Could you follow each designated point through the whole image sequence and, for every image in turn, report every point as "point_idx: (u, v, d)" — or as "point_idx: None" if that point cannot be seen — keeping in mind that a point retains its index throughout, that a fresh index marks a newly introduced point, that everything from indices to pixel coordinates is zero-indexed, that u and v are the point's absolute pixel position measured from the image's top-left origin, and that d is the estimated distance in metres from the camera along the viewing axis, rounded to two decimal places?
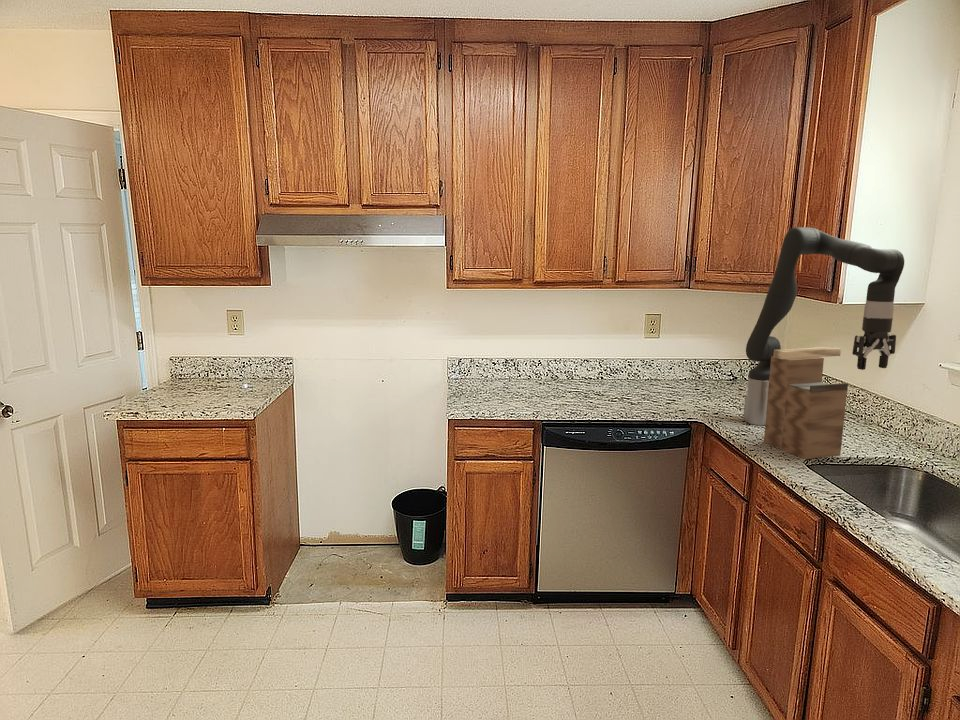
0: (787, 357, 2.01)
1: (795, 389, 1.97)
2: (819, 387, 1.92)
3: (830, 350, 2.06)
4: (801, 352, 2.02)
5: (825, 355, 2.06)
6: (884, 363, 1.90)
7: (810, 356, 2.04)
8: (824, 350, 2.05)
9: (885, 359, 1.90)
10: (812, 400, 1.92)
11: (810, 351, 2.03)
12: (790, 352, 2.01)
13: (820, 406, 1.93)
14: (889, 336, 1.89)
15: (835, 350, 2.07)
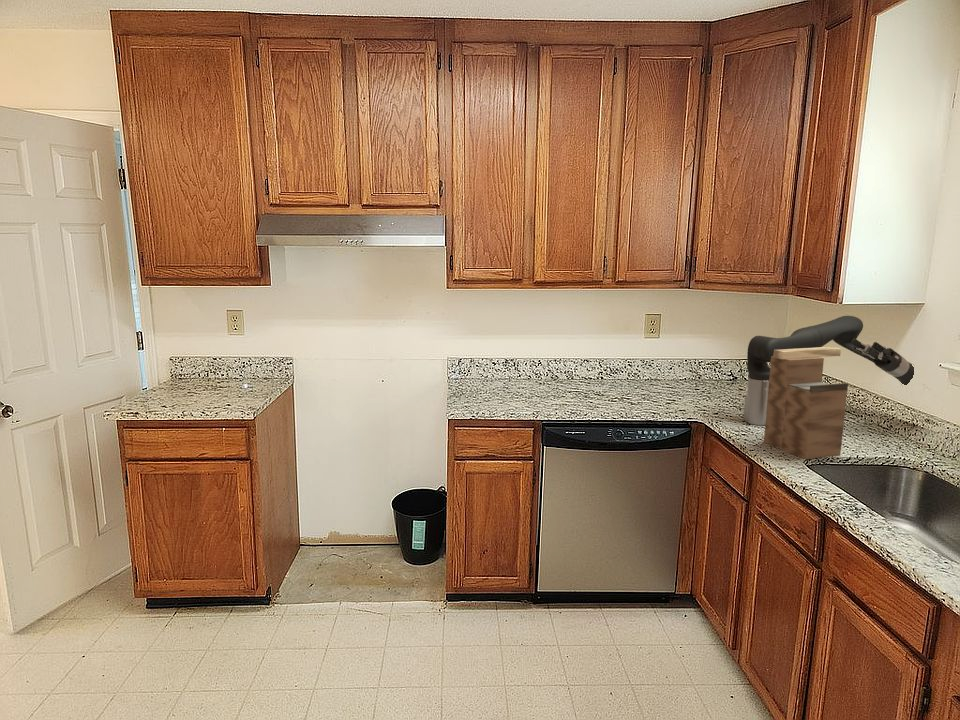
0: (787, 357, 2.01)
1: (795, 389, 1.97)
2: (819, 387, 1.92)
3: (830, 350, 2.06)
4: (801, 352, 2.02)
5: (825, 355, 2.06)
6: (855, 344, 2.21)
7: (810, 356, 2.04)
8: (824, 350, 2.05)
9: (857, 346, 2.22)
10: (812, 400, 1.92)
11: (810, 351, 2.03)
12: (790, 352, 2.01)
13: (820, 406, 1.93)
14: None
15: (835, 350, 2.07)
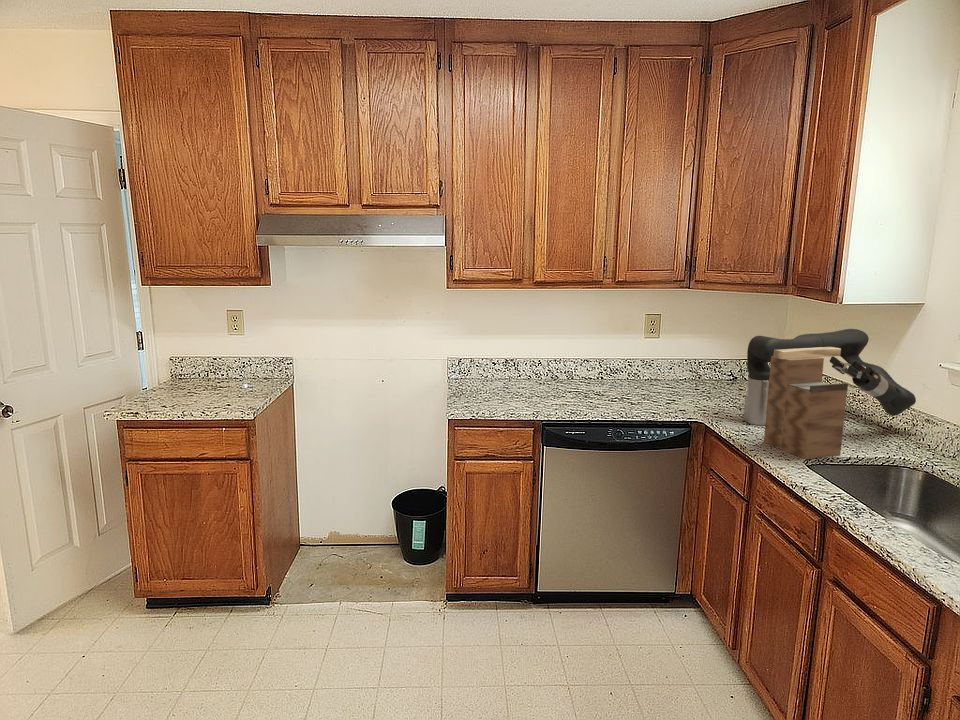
0: (787, 357, 2.01)
1: (795, 389, 1.97)
2: (819, 387, 1.92)
3: (830, 350, 2.06)
4: (801, 352, 2.02)
5: (825, 355, 2.06)
6: (833, 362, 2.15)
7: (810, 356, 2.04)
8: (824, 350, 2.05)
9: (835, 364, 2.16)
10: (812, 400, 1.92)
11: (810, 351, 2.03)
12: (790, 352, 2.01)
13: (820, 406, 1.93)
14: (846, 372, 2.19)
15: (835, 350, 2.07)
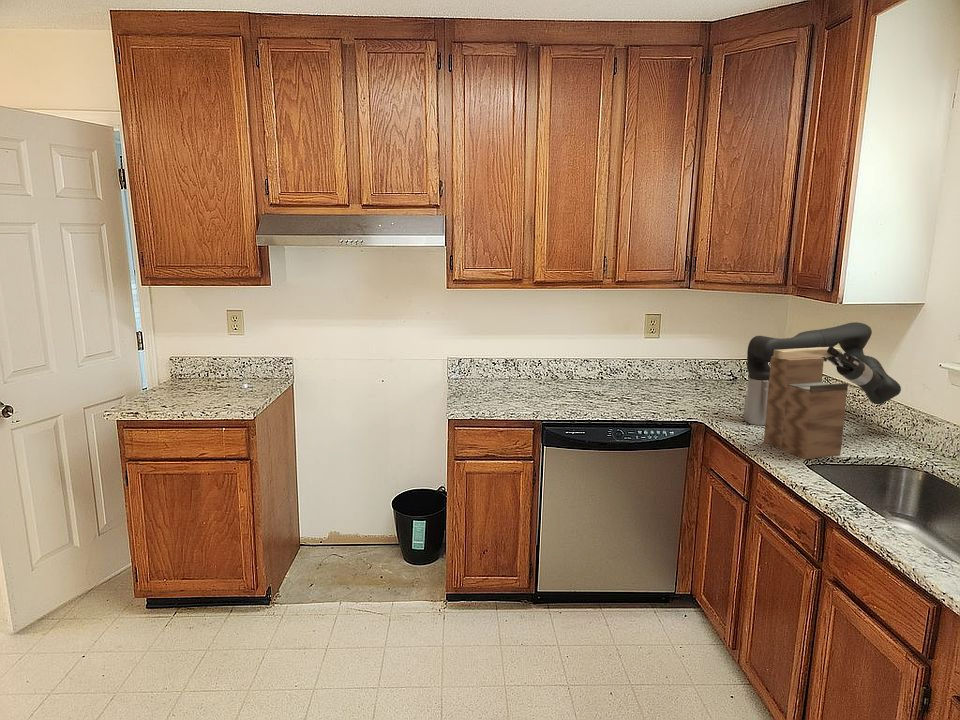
0: (787, 357, 2.01)
1: (795, 389, 1.97)
2: (819, 387, 1.92)
3: None
4: (801, 352, 2.02)
5: (825, 355, 2.06)
6: None
7: (810, 356, 2.04)
8: (824, 350, 2.05)
9: None
10: (812, 400, 1.92)
11: (810, 351, 2.03)
12: (790, 352, 2.01)
13: (820, 406, 1.93)
14: None
15: None
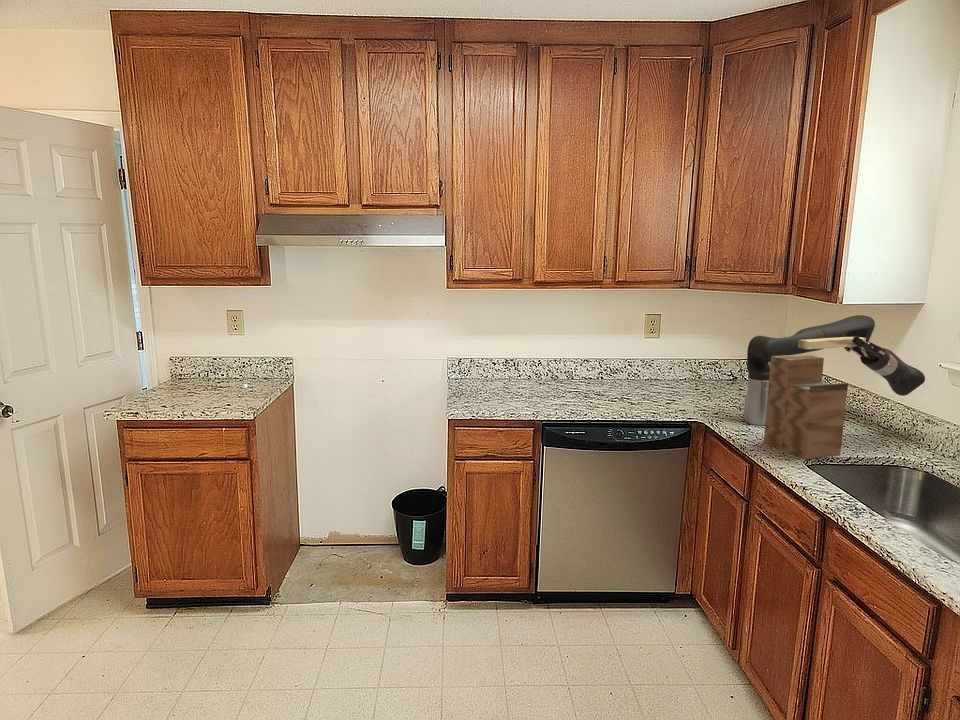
0: (812, 347, 1.97)
1: (795, 389, 1.97)
2: (819, 387, 1.92)
3: None
4: (826, 342, 1.99)
5: (850, 345, 2.02)
6: None
7: (835, 346, 2.00)
8: (849, 340, 2.02)
9: None
10: (812, 400, 1.92)
11: (835, 341, 2.00)
12: (815, 342, 1.97)
13: (820, 406, 1.93)
14: None
15: None
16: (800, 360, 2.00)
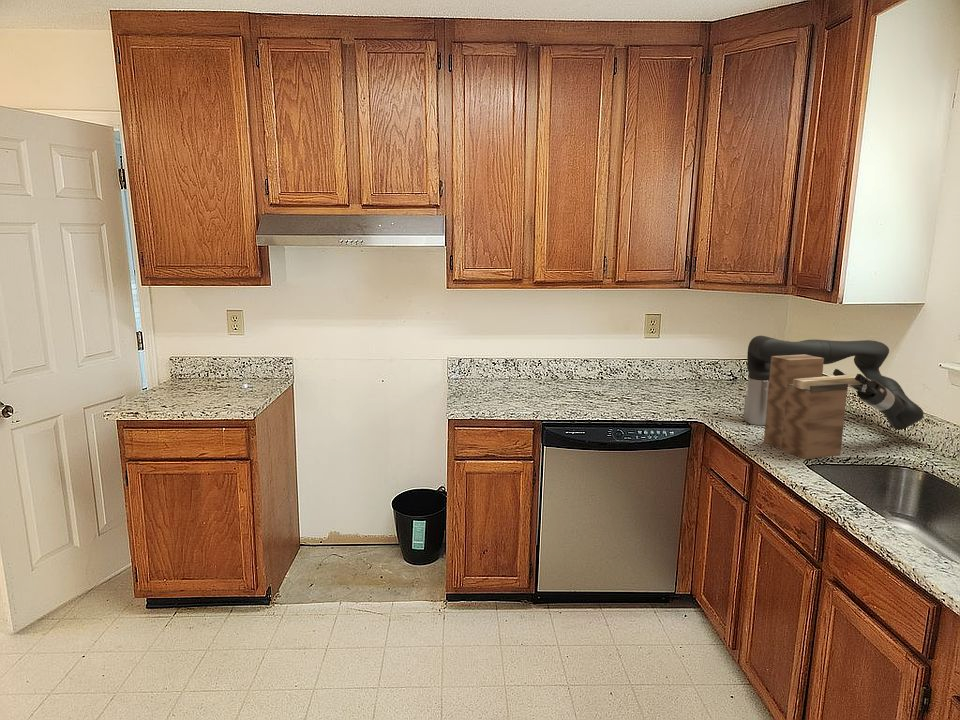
0: (807, 387, 1.94)
1: (795, 389, 1.97)
2: (819, 387, 1.92)
3: (851, 379, 1.99)
4: (821, 381, 1.95)
5: None
6: (837, 375, 2.05)
7: None
8: (845, 379, 1.98)
9: None
10: (812, 400, 1.92)
11: (831, 380, 1.96)
12: (810, 382, 1.94)
13: (820, 406, 1.93)
14: None
15: None
16: (800, 360, 2.00)
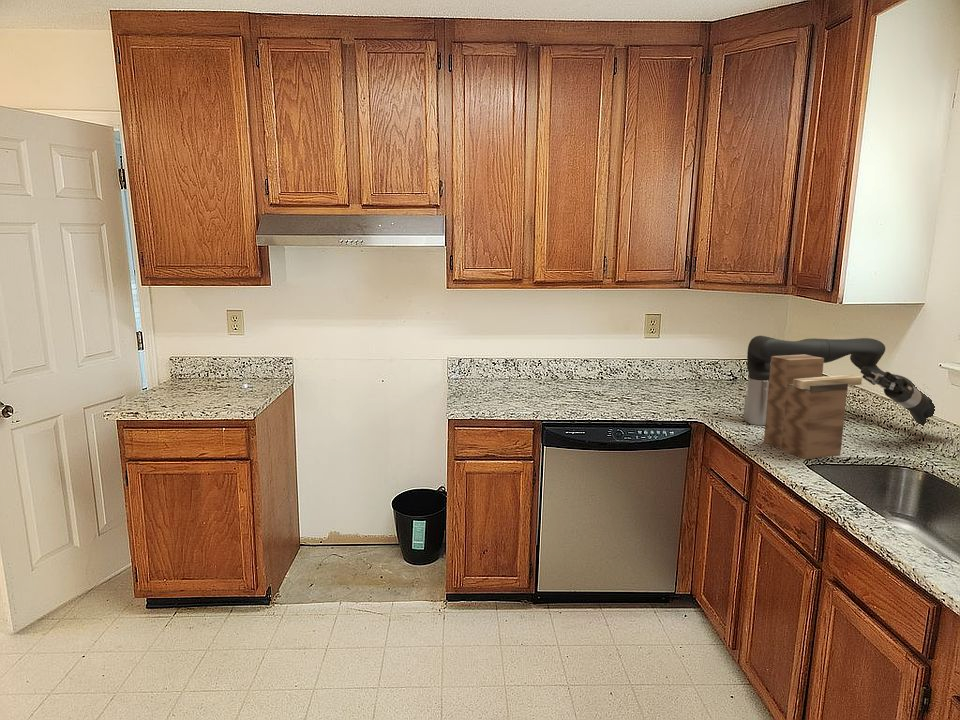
0: (807, 387, 1.94)
1: (795, 389, 1.97)
2: (819, 387, 1.92)
3: (851, 379, 1.99)
4: (821, 381, 1.95)
5: None
6: (865, 373, 2.08)
7: None
8: (845, 379, 1.98)
9: (867, 375, 2.09)
10: (812, 400, 1.92)
11: (831, 380, 1.96)
12: (810, 382, 1.94)
13: (820, 406, 1.93)
14: None
15: (856, 379, 2.00)
16: (800, 360, 2.00)
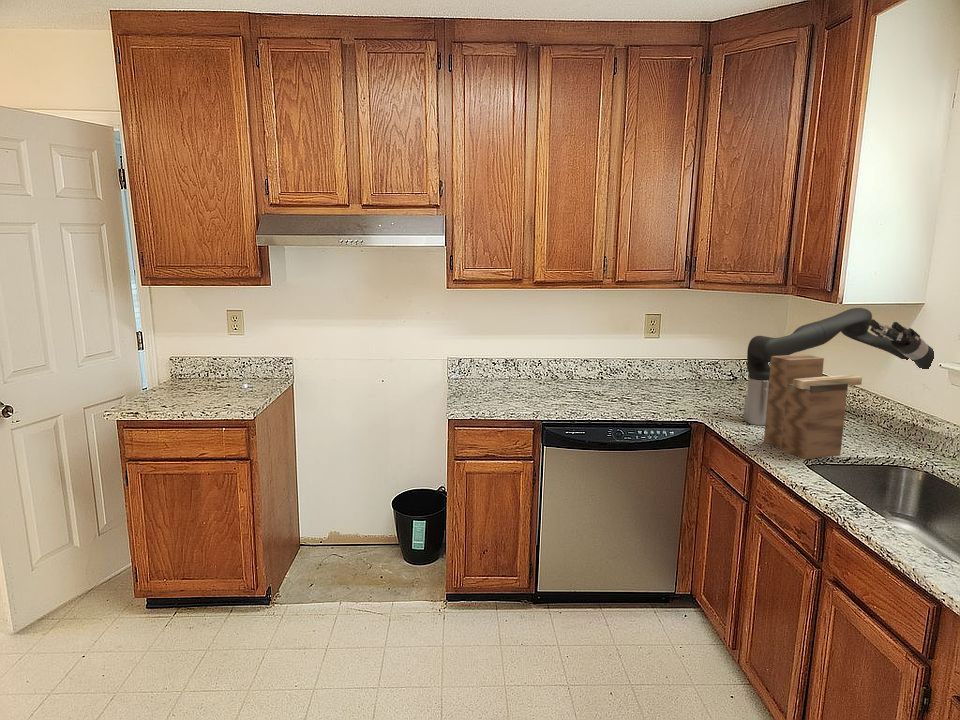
0: (807, 387, 1.94)
1: (795, 389, 1.97)
2: (819, 387, 1.92)
3: (851, 379, 1.99)
4: (821, 381, 1.95)
5: None
6: (873, 325, 2.12)
7: None
8: (845, 379, 1.98)
9: (874, 327, 2.13)
10: (812, 400, 1.92)
11: (831, 380, 1.96)
12: (810, 382, 1.94)
13: (820, 406, 1.93)
14: None
15: (856, 379, 2.00)
16: (800, 360, 2.00)
